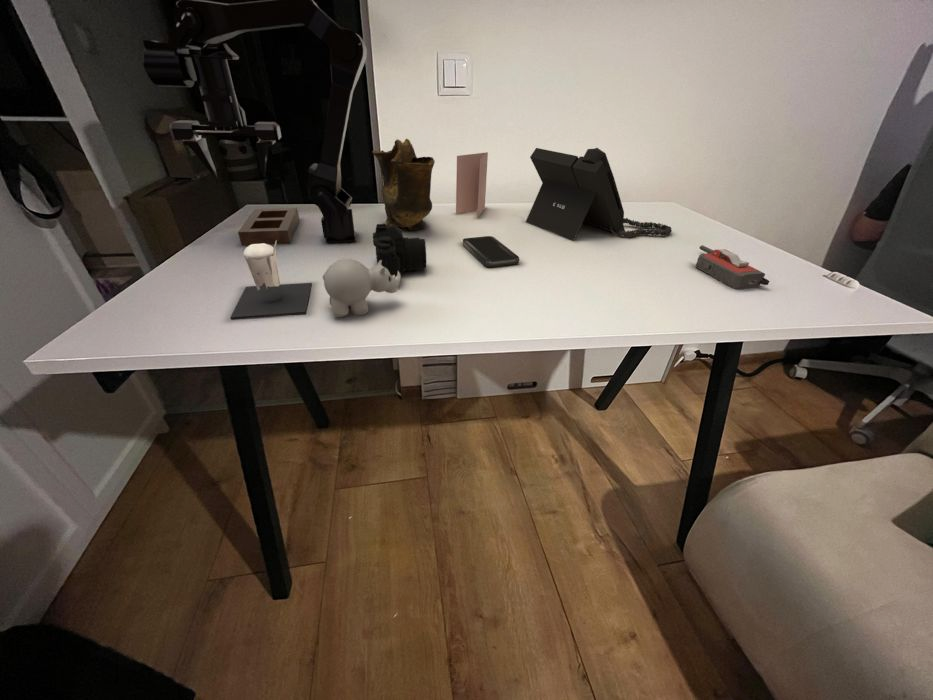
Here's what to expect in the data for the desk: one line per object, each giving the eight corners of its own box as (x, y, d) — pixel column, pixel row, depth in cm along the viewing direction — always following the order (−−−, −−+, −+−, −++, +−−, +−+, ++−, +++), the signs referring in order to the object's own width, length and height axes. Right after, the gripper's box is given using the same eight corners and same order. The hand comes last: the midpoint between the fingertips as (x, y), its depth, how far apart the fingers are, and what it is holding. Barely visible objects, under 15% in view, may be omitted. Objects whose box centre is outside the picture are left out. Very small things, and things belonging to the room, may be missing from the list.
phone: (487, 262, 81) (461, 238, 92) (486, 268, 82) (461, 243, 93) (521, 258, 83) (492, 235, 95) (521, 263, 84) (492, 240, 96)
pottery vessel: (444, 238, 96) (444, 146, 85) (400, 243, 92) (394, 147, 81) (412, 210, 114) (408, 132, 103) (374, 214, 110) (366, 132, 99)
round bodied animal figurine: (406, 313, 65) (404, 264, 61) (330, 323, 62) (320, 272, 57) (398, 294, 71) (395, 247, 66) (327, 302, 68) (318, 254, 63)
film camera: (429, 287, 74) (428, 239, 69) (375, 289, 72) (370, 240, 67) (423, 256, 86) (421, 213, 81) (377, 257, 84) (372, 214, 79)
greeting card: (482, 207, 120) (485, 151, 112) (500, 212, 116) (505, 155, 107) (453, 213, 113) (454, 155, 105) (471, 219, 109) (474, 159, 101)
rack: (299, 219, 104) (296, 207, 102) (290, 243, 90) (287, 230, 88) (257, 221, 102) (254, 209, 100) (241, 245, 88) (237, 232, 86)
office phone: (676, 234, 105) (705, 148, 93) (605, 254, 91) (628, 156, 79) (590, 207, 124) (605, 133, 113) (520, 219, 110) (529, 137, 99)
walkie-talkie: (775, 289, 78) (702, 252, 94) (786, 267, 76) (709, 233, 92) (738, 292, 76) (670, 254, 92) (748, 270, 74) (676, 235, 90)
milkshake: (285, 305, 65) (270, 245, 60) (252, 303, 65) (234, 244, 60) (295, 292, 69) (282, 235, 64) (264, 291, 69) (248, 234, 64)
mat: (311, 284, 73) (311, 282, 73) (305, 313, 64) (305, 311, 64) (246, 288, 71) (245, 286, 71) (230, 319, 62) (230, 317, 62)
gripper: (275, 89, 84) (291, 169, 93) (174, 85, 79) (200, 170, 88) (268, 91, 75) (286, 179, 84) (154, 87, 71) (185, 181, 79)
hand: (240, 177), depth 84 cm, fingers open, 9 cm apart
